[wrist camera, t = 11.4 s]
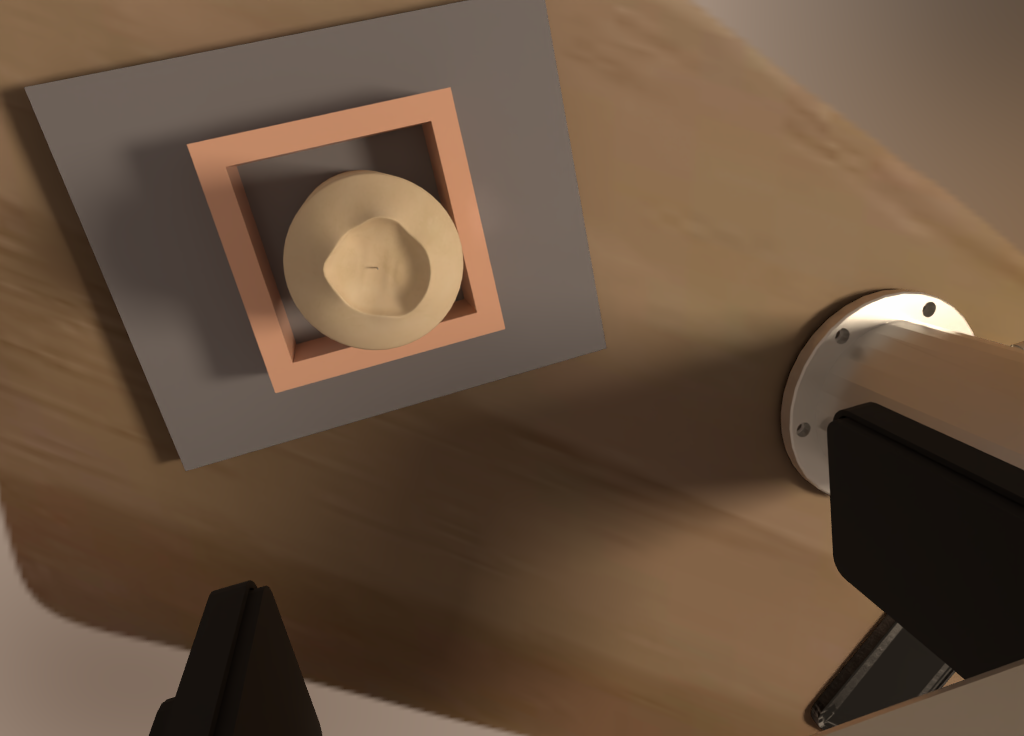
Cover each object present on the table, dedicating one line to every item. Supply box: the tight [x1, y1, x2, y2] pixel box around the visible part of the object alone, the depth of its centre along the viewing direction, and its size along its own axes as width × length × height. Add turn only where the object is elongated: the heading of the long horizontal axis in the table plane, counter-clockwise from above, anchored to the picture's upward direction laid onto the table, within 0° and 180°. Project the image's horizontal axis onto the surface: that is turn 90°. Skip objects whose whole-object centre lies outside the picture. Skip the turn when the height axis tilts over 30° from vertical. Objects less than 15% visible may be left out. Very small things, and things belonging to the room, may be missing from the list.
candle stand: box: [24, 0, 606, 471], centre depth 29 cm, size 20×16×4 cm
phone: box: [811, 615, 955, 730], centre depth 47 cm, size 8×1×15 cm
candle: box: [283, 170, 463, 350], centre depth 25 cm, size 6×6×10 cm
